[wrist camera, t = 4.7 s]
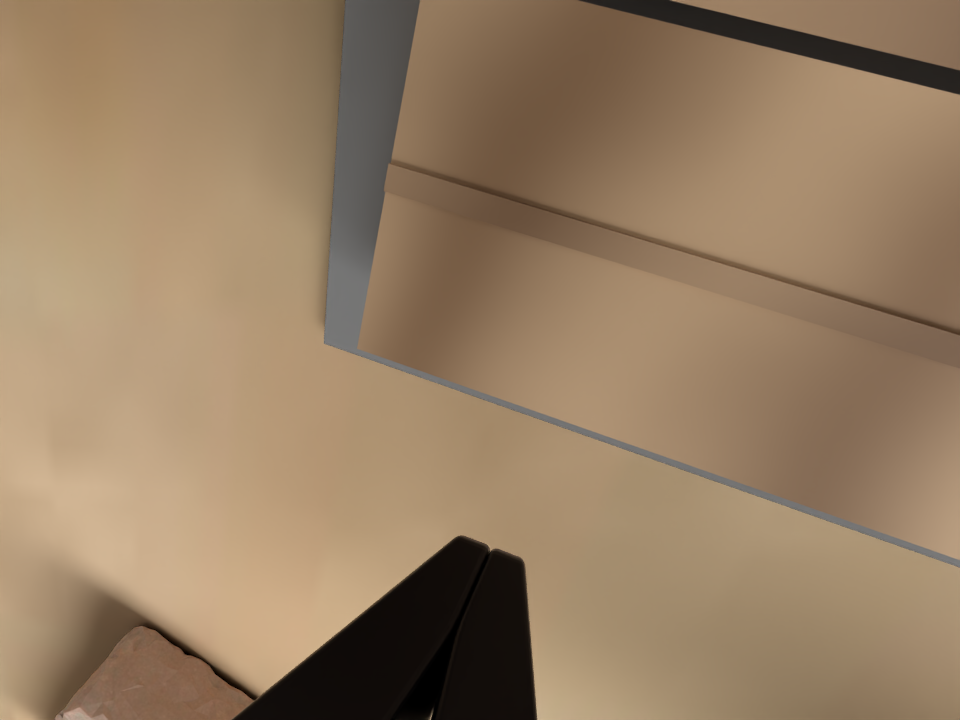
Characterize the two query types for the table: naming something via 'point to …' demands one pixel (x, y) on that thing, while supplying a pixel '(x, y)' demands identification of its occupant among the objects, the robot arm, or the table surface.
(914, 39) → the laid board
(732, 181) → the click plank
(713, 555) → the table surface
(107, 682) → the brick
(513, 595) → the robot arm
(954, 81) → the underlay
